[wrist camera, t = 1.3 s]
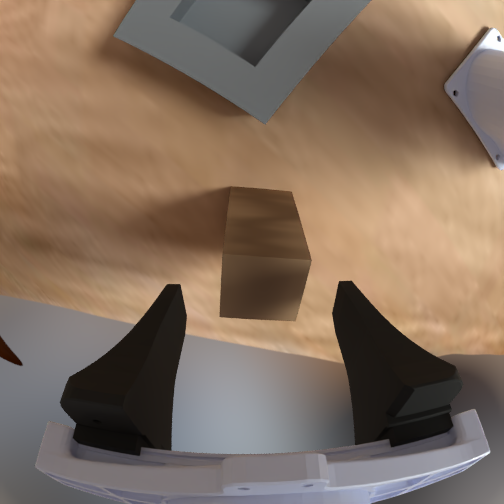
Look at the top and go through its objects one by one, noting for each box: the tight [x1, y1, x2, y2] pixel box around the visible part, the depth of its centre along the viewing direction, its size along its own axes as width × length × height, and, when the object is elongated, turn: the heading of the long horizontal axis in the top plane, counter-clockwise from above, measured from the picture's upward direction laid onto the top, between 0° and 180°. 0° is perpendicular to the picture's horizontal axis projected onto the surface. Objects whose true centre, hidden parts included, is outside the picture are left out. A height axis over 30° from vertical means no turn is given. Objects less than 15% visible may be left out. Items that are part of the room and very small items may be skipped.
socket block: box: [113, 0, 371, 124], centre depth 13 cm, size 10×10×3 cm
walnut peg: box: [220, 186, 312, 321], centre depth 19 cm, size 4×4×8 cm
